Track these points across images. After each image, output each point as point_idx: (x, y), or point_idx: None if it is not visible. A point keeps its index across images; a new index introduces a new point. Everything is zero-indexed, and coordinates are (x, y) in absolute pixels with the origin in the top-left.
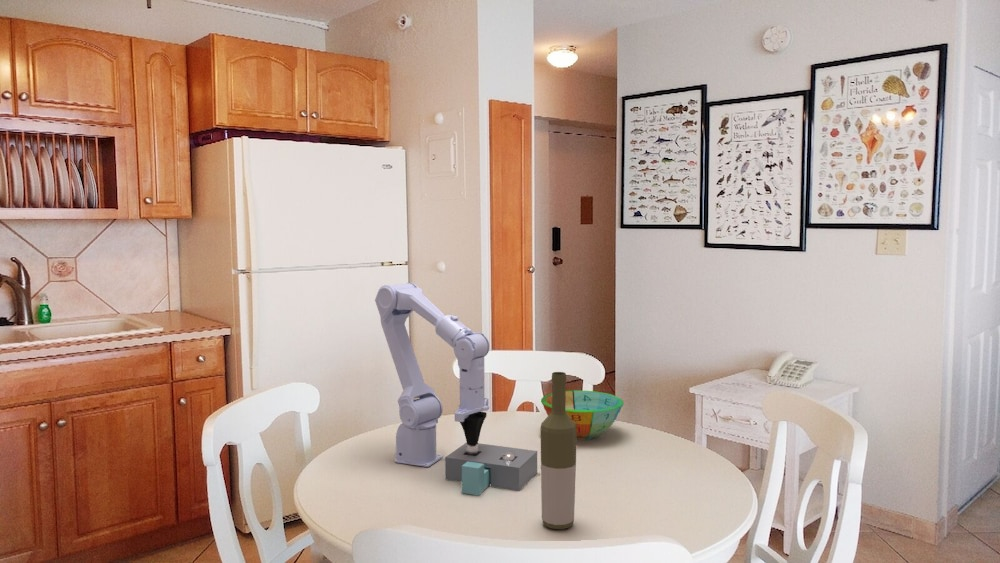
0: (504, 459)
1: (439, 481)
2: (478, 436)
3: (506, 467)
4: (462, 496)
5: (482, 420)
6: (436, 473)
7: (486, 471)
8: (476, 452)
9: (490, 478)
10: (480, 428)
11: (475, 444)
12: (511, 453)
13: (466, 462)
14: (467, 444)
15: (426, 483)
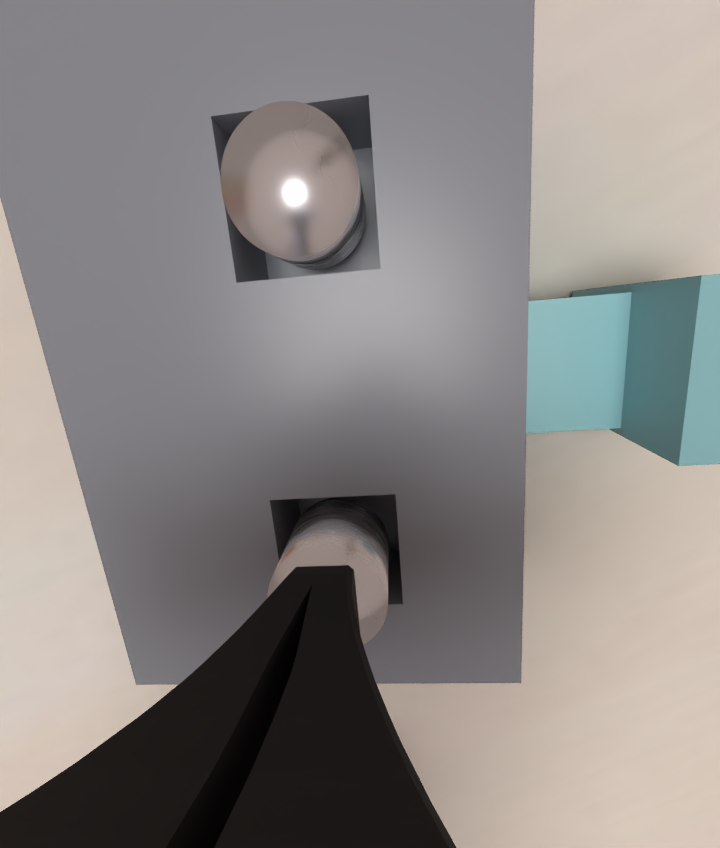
0: (360, 208)
1: None
2: (286, 610)
3: (529, 89)
4: None
5: (111, 845)
6: None
7: (556, 301)
8: (349, 518)
9: None
10: (207, 687)
11: (347, 569)
12: (249, 161)
13: (713, 461)
14: None
15: (571, 629)
